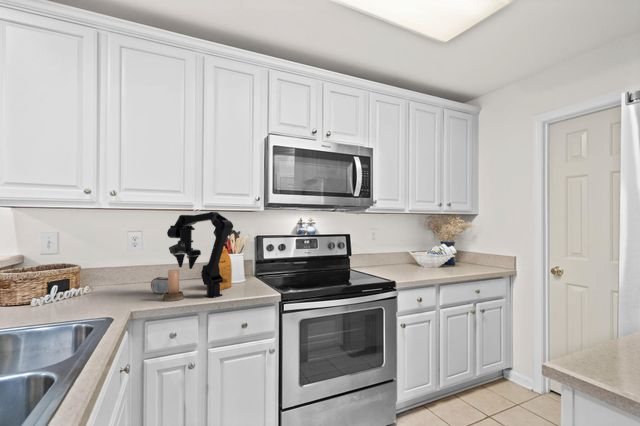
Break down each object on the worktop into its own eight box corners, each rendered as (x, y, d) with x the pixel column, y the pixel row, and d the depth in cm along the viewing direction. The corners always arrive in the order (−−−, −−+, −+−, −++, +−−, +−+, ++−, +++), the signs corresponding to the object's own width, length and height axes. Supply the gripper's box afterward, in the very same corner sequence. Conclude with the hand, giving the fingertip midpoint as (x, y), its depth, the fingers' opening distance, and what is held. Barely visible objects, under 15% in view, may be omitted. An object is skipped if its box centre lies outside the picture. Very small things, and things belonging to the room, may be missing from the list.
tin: (177, 293, 174) (177, 277, 174) (173, 295, 171) (173, 278, 171) (154, 292, 178) (154, 276, 178) (149, 293, 175) (149, 277, 175)
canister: (180, 297, 162) (180, 270, 162) (170, 298, 159) (170, 271, 159) (176, 295, 166) (176, 269, 166) (166, 297, 162) (166, 270, 163)
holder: (187, 298, 163) (187, 292, 163) (169, 302, 156) (169, 295, 156) (176, 296, 168) (176, 290, 169) (159, 299, 161) (159, 293, 161)
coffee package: (205, 289, 183) (205, 249, 184) (220, 285, 195) (220, 248, 195) (219, 291, 179) (219, 250, 180) (234, 286, 190) (234, 248, 191)
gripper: (161, 238, 174) (161, 268, 174) (181, 240, 163) (181, 271, 163) (181, 237, 183) (180, 265, 183) (201, 239, 173) (201, 269, 172)
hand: (185, 268), depth 175 cm, fingers open, 9 cm apart
